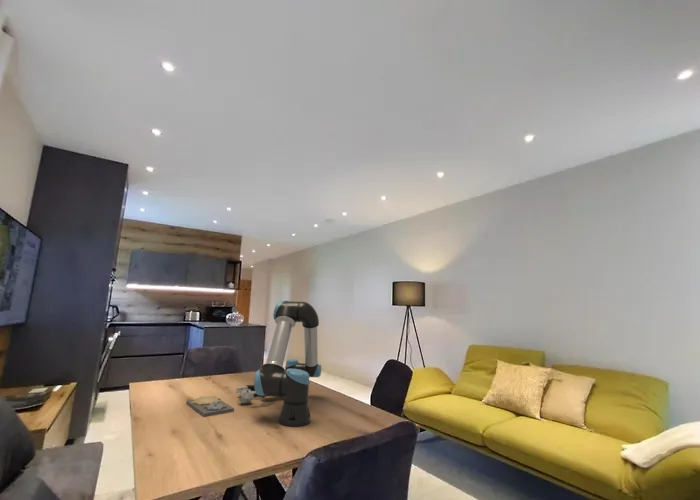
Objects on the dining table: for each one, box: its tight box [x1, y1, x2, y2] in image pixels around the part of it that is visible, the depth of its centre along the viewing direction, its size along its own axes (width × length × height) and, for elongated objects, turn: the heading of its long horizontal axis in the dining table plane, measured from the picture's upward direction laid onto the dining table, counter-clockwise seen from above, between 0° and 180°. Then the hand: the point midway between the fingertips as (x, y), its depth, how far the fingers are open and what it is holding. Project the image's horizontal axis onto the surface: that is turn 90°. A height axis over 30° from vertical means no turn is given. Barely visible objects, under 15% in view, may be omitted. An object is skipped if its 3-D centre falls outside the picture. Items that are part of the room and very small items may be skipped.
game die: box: [236, 388, 253, 406], centre depth 182 cm, size 9×8×10 cm
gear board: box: [186, 395, 235, 418], centre depth 173 cm, size 26×15×5 cm, turn 43°
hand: (241, 393), depth 181 cm, fingers open, 13 cm apart
